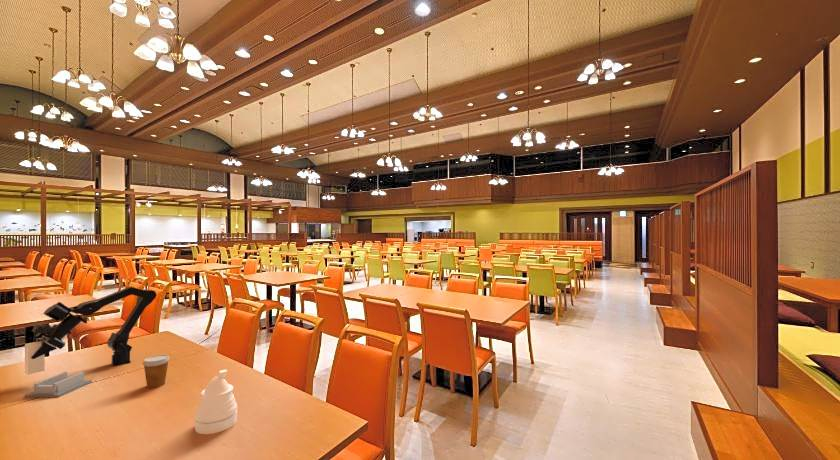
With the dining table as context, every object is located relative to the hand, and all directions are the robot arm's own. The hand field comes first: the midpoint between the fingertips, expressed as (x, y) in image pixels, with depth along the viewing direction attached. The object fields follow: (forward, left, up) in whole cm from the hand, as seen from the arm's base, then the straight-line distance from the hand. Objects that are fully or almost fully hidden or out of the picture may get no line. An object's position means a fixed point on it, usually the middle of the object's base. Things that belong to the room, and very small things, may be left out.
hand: (30, 357), depth 149 cm
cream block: (-1, 0, -7) cm, 7 cm away
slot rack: (-8, +14, -13) cm, 20 cm away
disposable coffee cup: (-36, +39, -13) cm, 55 cm away
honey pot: (-42, +93, -13) cm, 103 cm away
